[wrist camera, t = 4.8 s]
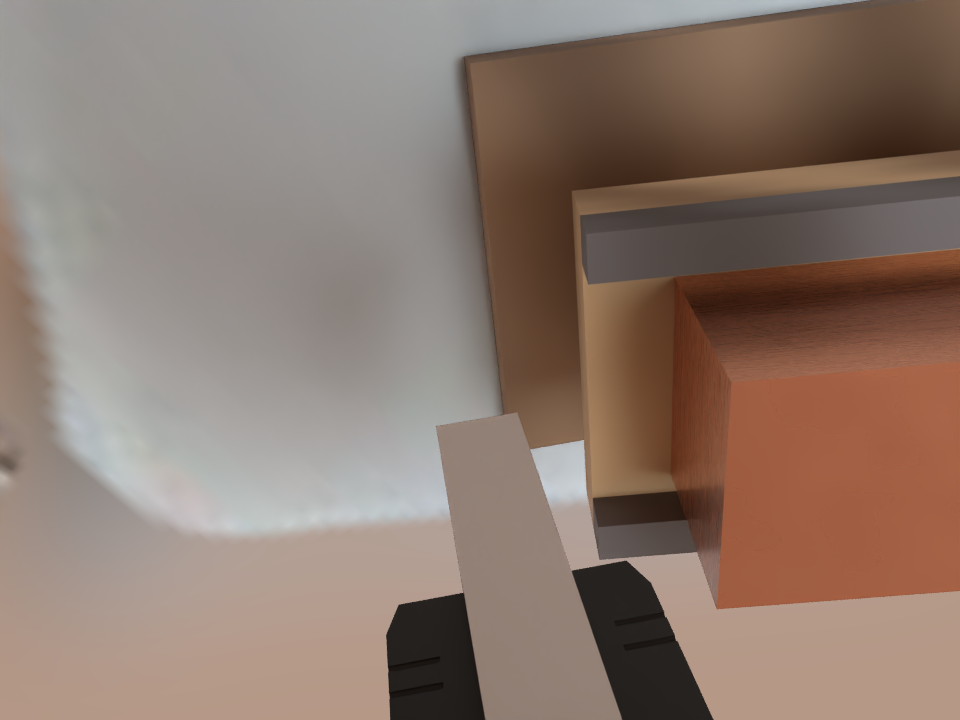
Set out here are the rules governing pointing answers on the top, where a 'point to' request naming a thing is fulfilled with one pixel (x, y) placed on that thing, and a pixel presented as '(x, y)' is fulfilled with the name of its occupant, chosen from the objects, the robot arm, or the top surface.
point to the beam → (703, 250)
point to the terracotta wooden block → (820, 428)
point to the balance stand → (679, 144)
